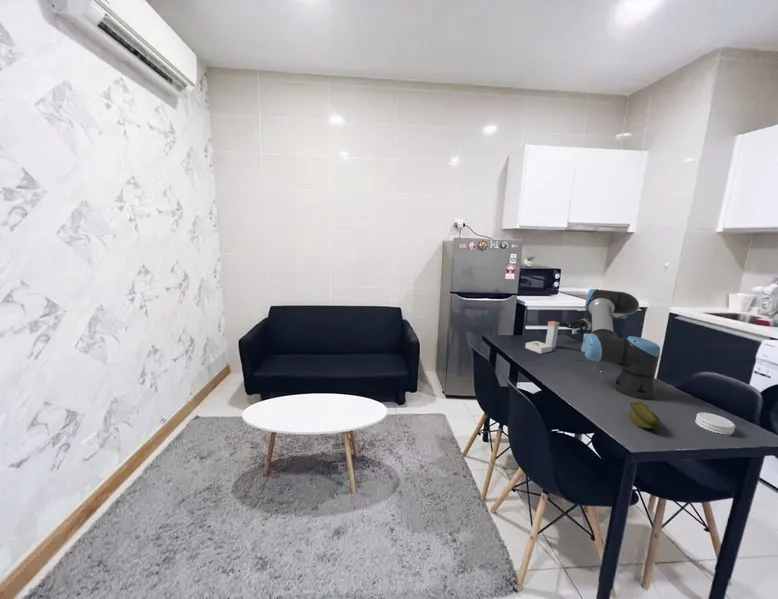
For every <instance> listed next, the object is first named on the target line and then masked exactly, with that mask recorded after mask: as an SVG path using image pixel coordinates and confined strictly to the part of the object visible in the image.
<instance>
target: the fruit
mask: <svg viewBox="0 0 778 599" xmlns="http://www.w3.org/2000/svg"><path fill="white" fill-rule="evenodd" d="M629 404H630V407H631V409H630V414H629V417H630V420H631V422H632V423H633V424H634V425H635V426H637V427H640V428H644V429H649V430H654V431H657V430H659V427H660V425H661V424H662V423H661V419H660V418H659V417H658V416H657V415H656V414H655V413H654V411H653V410H651V409H650V408H649V406H648V405H646V404H645V403H644V402H642V401H639V402H638V401H637V402H635V401H631V402H630V403H629Z"/></svg>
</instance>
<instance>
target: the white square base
mask: <svg viewBox="0 0 778 599" xmlns="http://www.w3.org/2000/svg"><path fill="white" fill-rule="evenodd" d="M545 343H546V342H541V341H538V340H534V341H529V342H525V349H527V350H529V351H532V352H535V353H538V354H545V353H549V352H552V351H553V348H552V346H551V345H548V344H545Z"/></svg>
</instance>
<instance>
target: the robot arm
mask: <svg viewBox="0 0 778 599" xmlns="http://www.w3.org/2000/svg"><path fill="white" fill-rule="evenodd" d="M639 308H640V303H639V300H638V299H637V298H636V297H635V296H633V294H630V293H627V292H624V291H616V290H615V291H614V290H606V289H599V288H590V289H589V290H588V292H587V296H586V300H585V305H584V309H585V311H584V312H585V313H584V316H583V318H581V319H576V320H574V321H573V322H569V321H556V320H554V321H555V322H558V323H560V324H559V327H558V328H560V327H561V328H562V327H563V328H567V329H571V330H572V332H571V334H572V335H575V334H583V335H584V334H587V335H586V338H585V343H584V347H585V348H584V352H585V353H584V352H583V353H584V356H585V358H586V359H588V360H590V361H594V362H597V363H604V364H608V365H615V366H620V367H621V369H620V370H621V371H620V372H619V374H618V375H617V377H616V378H615V379H614V381H613V386H612V387H613V388H614V389H615V390H616V391H617V392H620V393H621V394H623V395H627V396H629V397H632V398H636V399H642V400H654V399H656V397H657V387H656V382H655V377H656V372H657V369H658V368H657V367H658V364H659V359H660V358H661V357H660V353H661V347H660V346H659V344H657V343H655V342H654V341H651V340H649V339H646V338H642V337H640V336H639V337H638V336H632V335H629V336H628V337H627V338H619V337H618V335H617V334H616V332H614V324H613V319H620V320H621V319H622V320H625V319H627V317H628V316H629V315H632V314H635V313H636V312H637V311H638V310H639ZM588 331H591V332H590V333H587V332H588Z"/></svg>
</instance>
